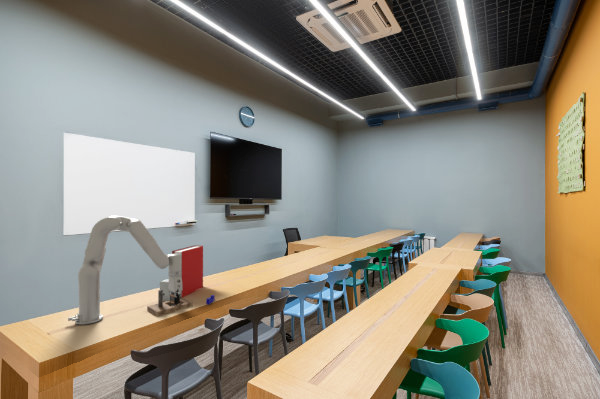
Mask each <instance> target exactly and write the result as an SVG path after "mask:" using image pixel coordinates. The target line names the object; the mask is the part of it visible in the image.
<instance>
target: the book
mask: <svg viewBox="0 0 600 399" xmlns="http://www.w3.org/2000/svg"><path fill="white" fill-rule="evenodd" d="M171 254H181V277H182V289H183V290H182V292H181V294H180V298H184V297H186V296H188V295H190V294H192V293H195V292H196V291H198V290H200V289H202V288H204V245H201V244H200V245H199V244H198V245H197V244H195V245H191V246H190V245H189V246H187V247H183V248H178V249H175V250H172V251H171Z"/></svg>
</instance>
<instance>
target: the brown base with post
mask: <svg viewBox="0 0 600 399" xmlns="http://www.w3.org/2000/svg"><path fill="white" fill-rule="evenodd" d="M157 292H158V293H157V295H158V297H157V298H158V302H157V303H154V304H151V305H147V306H146V308H147V311H148V312H149V313H151V314H152V315H154V316H156V317H159V316H163V315H166V314H170V313H174V312H176V311H179V310H182V309H186V308H190V307H193V302H192V301H191V300H188V299H187V298H184V297H180V303H179V304H178V305H175V306H172V305H171V302H170V300H169V301H164V300H163V295H165V293H163V290H160V289H158V291H157Z"/></svg>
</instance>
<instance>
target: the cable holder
mask: <svg viewBox="0 0 600 399" xmlns="http://www.w3.org/2000/svg"><path fill="white" fill-rule="evenodd" d="M215 298H216V296H215V294H212V295H210V296H209V297H207V298H206V303H205V304H206V305H211V304H212V303H213V302H214V301H216V300H215Z"/></svg>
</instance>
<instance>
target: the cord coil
mask: <svg viewBox="0 0 600 399" xmlns="http://www.w3.org/2000/svg"><path fill="white" fill-rule="evenodd" d="M176 292H178V291H176ZM177 294H178V293H176V295H177ZM174 298H175V293H174V292H171V305H170V306H171V307H172V306H175V305H179V304H180V303H178V304H174Z"/></svg>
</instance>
